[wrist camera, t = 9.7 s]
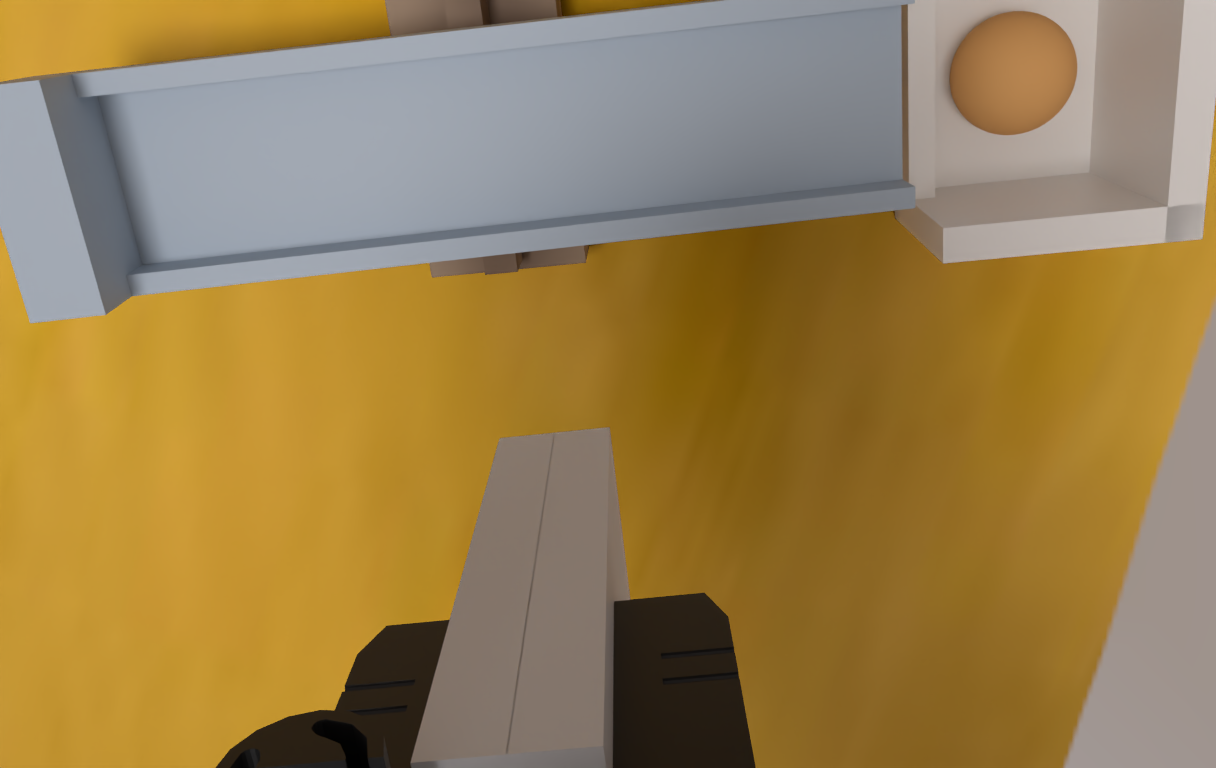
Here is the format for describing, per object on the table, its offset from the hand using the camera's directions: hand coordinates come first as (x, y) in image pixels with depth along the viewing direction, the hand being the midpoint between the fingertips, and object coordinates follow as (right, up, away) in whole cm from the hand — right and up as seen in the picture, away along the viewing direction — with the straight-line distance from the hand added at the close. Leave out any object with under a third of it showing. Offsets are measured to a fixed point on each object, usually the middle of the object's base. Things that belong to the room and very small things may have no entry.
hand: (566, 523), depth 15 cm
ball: (+11, +11, +17) cm, 23 cm away
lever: (-4, +12, +15) cm, 20 cm away
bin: (+13, +12, +19) cm, 26 cm away
